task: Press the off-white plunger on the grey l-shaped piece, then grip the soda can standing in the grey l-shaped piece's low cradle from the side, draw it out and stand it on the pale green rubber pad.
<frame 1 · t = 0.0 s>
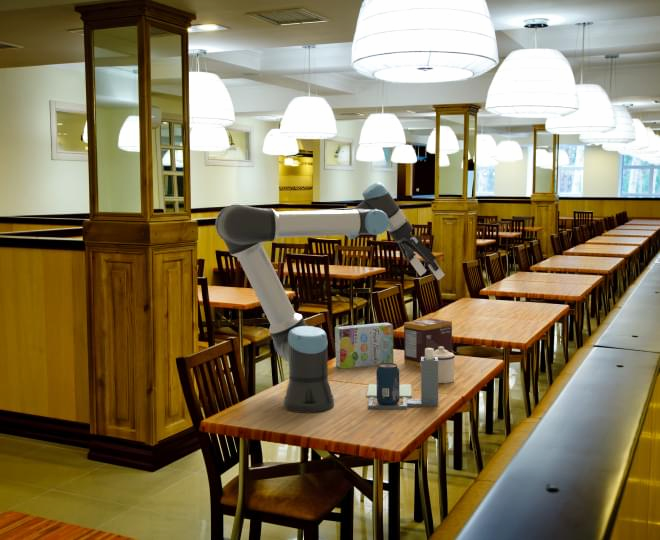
hand: (432, 275, 254), 36 cm above the table, tool tilted 35°, fingers open, 13 cm apart
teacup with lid: (437, 380, 259), on the table
grey l-shaped piece: (388, 403, 231), on the table
snack box: (364, 365, 283), on the table
supplement box: (428, 363, 285), on the table
plunger: (429, 358, 228), point 14 cm above the table, slide at 0.0 cm
soda can: (388, 404, 231), resting in grey l-shaped piece
pad: (389, 391, 245), on the table
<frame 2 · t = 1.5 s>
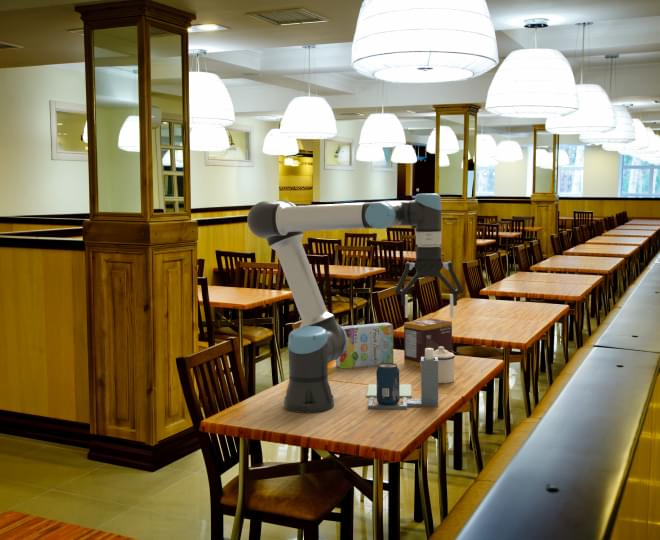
hand: (429, 316, 228), 27 cm above the table, tool pointing down, fingers open, 13 cm apart
nothing on the table moved.
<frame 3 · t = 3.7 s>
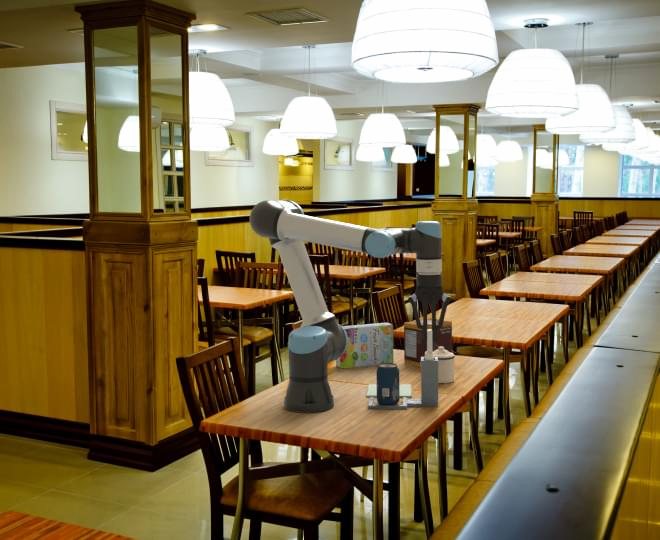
hand: (429, 351, 228), 16 cm above the table, tool pointing down, fingers closed
plunger: (429, 362, 228), point 13 cm above the table, slide at 1.0 cm, touching gripper
everything else where it was.
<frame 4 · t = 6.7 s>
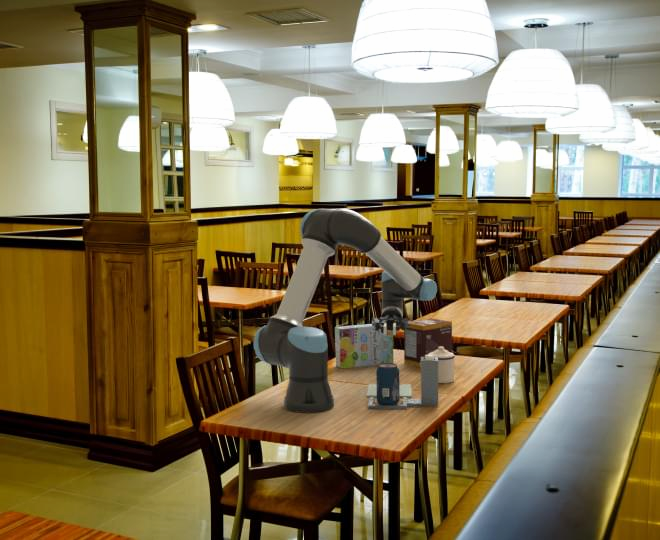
hand: (389, 330, 242), 20 cm above the table, tool horizontal, fingers open, 2 cm apart
plunger: (429, 365, 229), point 12 cm above the table, slide at 2.0 cm
everything else where it was.
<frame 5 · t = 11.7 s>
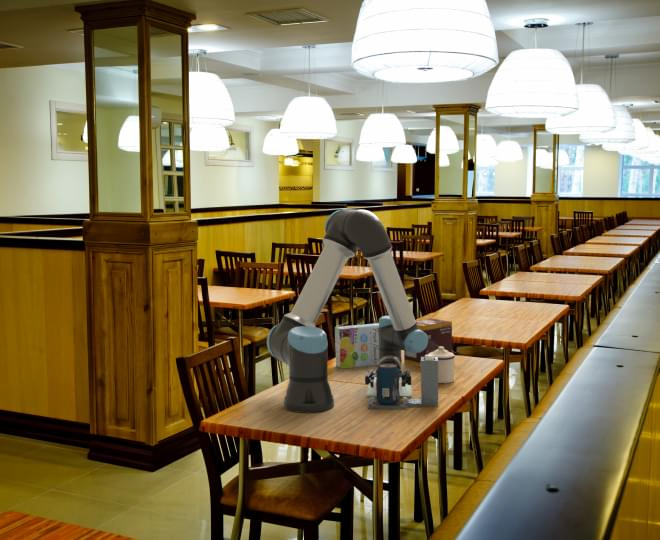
hand: (387, 387, 226), 6 cm above the table, tool horizontal, fingers closed on soda can, 7 cm apart
soda can: (388, 404, 231), resting in grey l-shaped piece, touching gripper
everything else where it was.
when the fingers open (8 cm above the table, at t = 16.8 s): soda can moves 2 cm, point 1 cm above the table.
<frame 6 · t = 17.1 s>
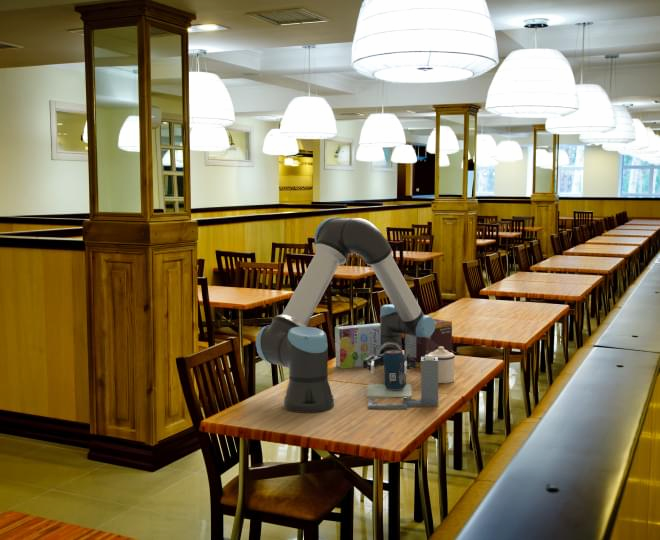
hand: (388, 369, 240), 8 cm above the table, tool horizontal, fingers open, 10 cm apart
soda can: (395, 388, 245), point 1 cm above the table, touching gripper
everything else where it was.
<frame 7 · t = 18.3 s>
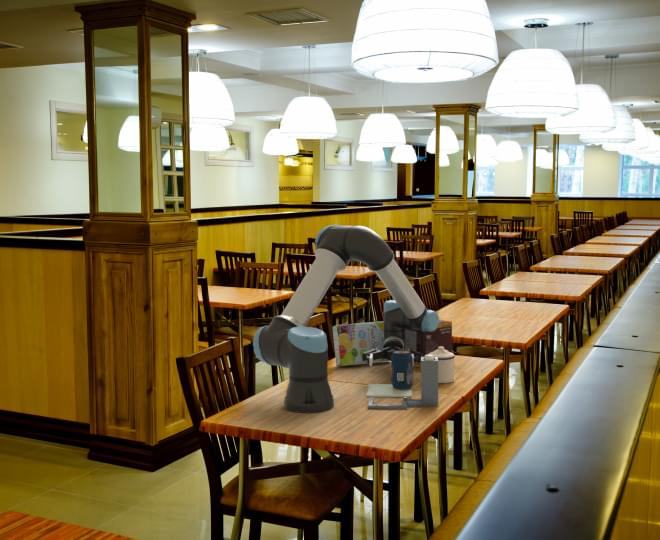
hand: (391, 362, 248), 9 cm above the table, tool horizontal, fingers open, 13 cm apart
soda can: (402, 388, 247), resting on pad
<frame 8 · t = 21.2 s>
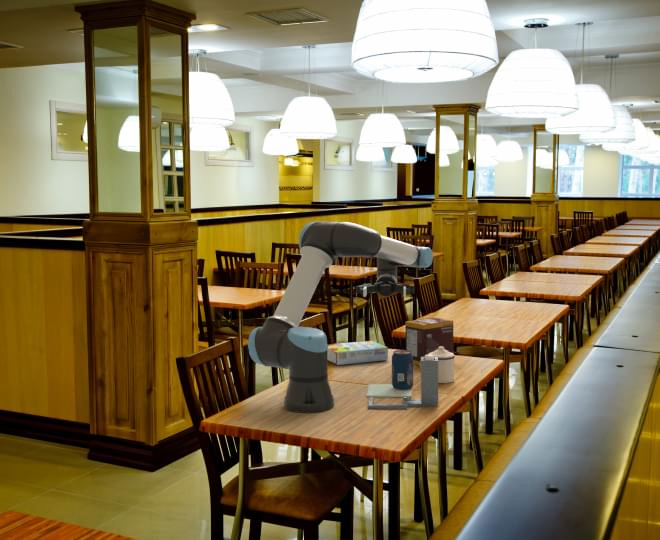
hand: (384, 292, 257), 30 cm above the table, tool horizontal, fingers open, 13 cm apart
snack box: (362, 356, 285), point 3 cm above the table
supplement box: (429, 362, 287), on the table
soda can: (402, 388, 247), resting on pad
everything else where it was.
at the end: soda can inside the target area on the pad (4.8 cm from its centre), point 0.4 cm above the pad's base; soda can tilted 0°; plunger slide at 2.0 cm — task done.
